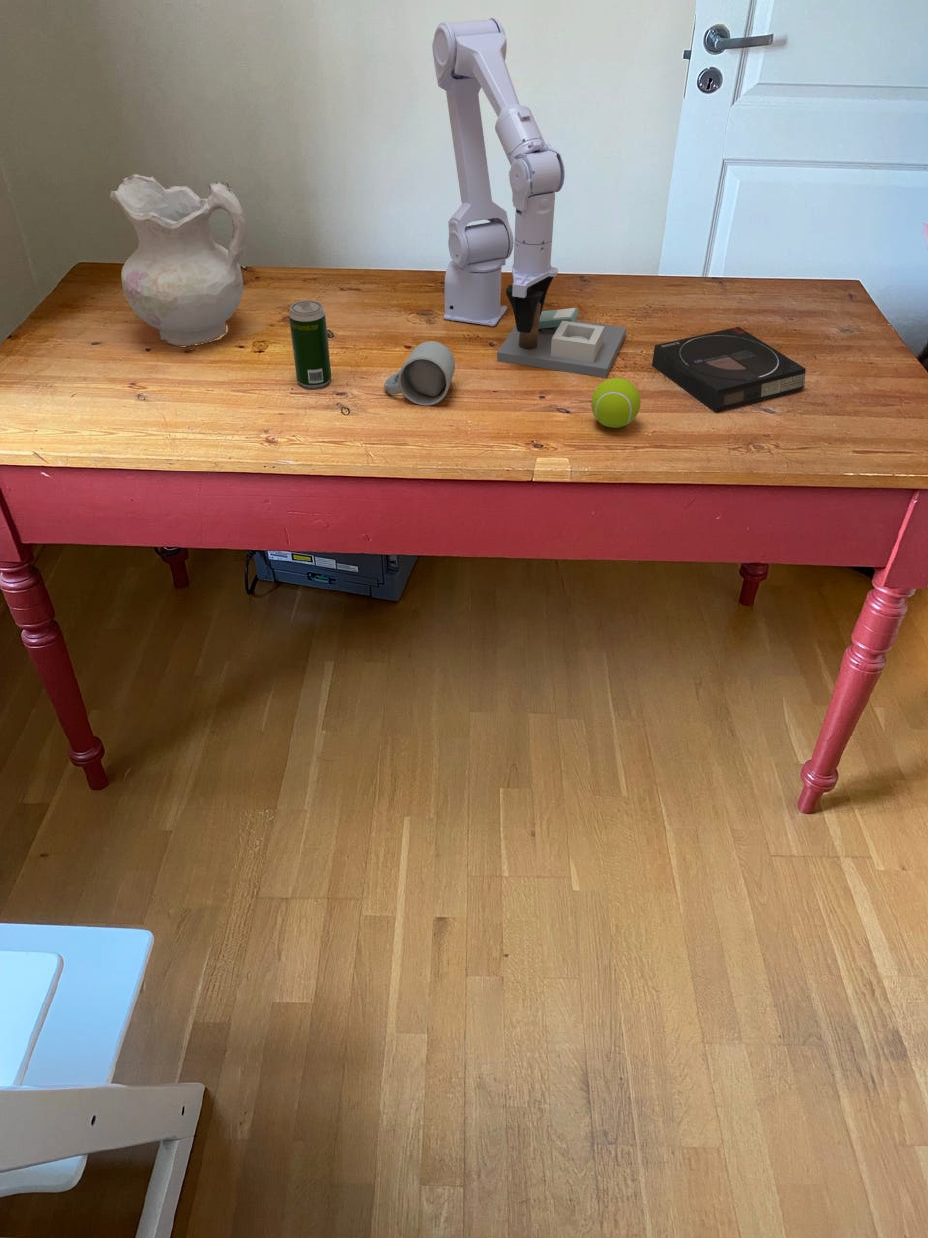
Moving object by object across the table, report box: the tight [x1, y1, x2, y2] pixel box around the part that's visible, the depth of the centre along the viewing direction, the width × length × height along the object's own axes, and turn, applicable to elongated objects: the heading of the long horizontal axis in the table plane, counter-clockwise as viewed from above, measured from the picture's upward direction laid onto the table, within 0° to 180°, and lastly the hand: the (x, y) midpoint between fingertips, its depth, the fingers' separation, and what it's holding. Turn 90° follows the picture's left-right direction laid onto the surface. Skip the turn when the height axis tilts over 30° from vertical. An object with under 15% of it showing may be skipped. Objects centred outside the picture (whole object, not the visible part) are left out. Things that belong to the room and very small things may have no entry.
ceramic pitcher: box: [109, 173, 247, 347], centre depth 152 cm, size 22×20×25 cm
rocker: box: [539, 307, 579, 329], centre depth 157 cm, size 8×4×1 cm, turn 72°
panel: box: [496, 319, 627, 379], centre depth 154 cm, size 18×16×4 cm
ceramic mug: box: [383, 340, 456, 407], centre depth 141 cm, size 11×8×8 cm
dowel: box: [519, 302, 541, 349], centre depth 151 cm, size 3×3×7 cm
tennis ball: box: [590, 377, 642, 429], centre depth 135 cm, size 7×7×7 cm
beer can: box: [288, 300, 332, 390], centre depth 142 cm, size 5×5×12 cm
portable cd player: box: [651, 326, 807, 413], centre depth 147 cm, size 16×17×4 cm
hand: (528, 324), depth 151 cm, fingers open, 5 cm apart
